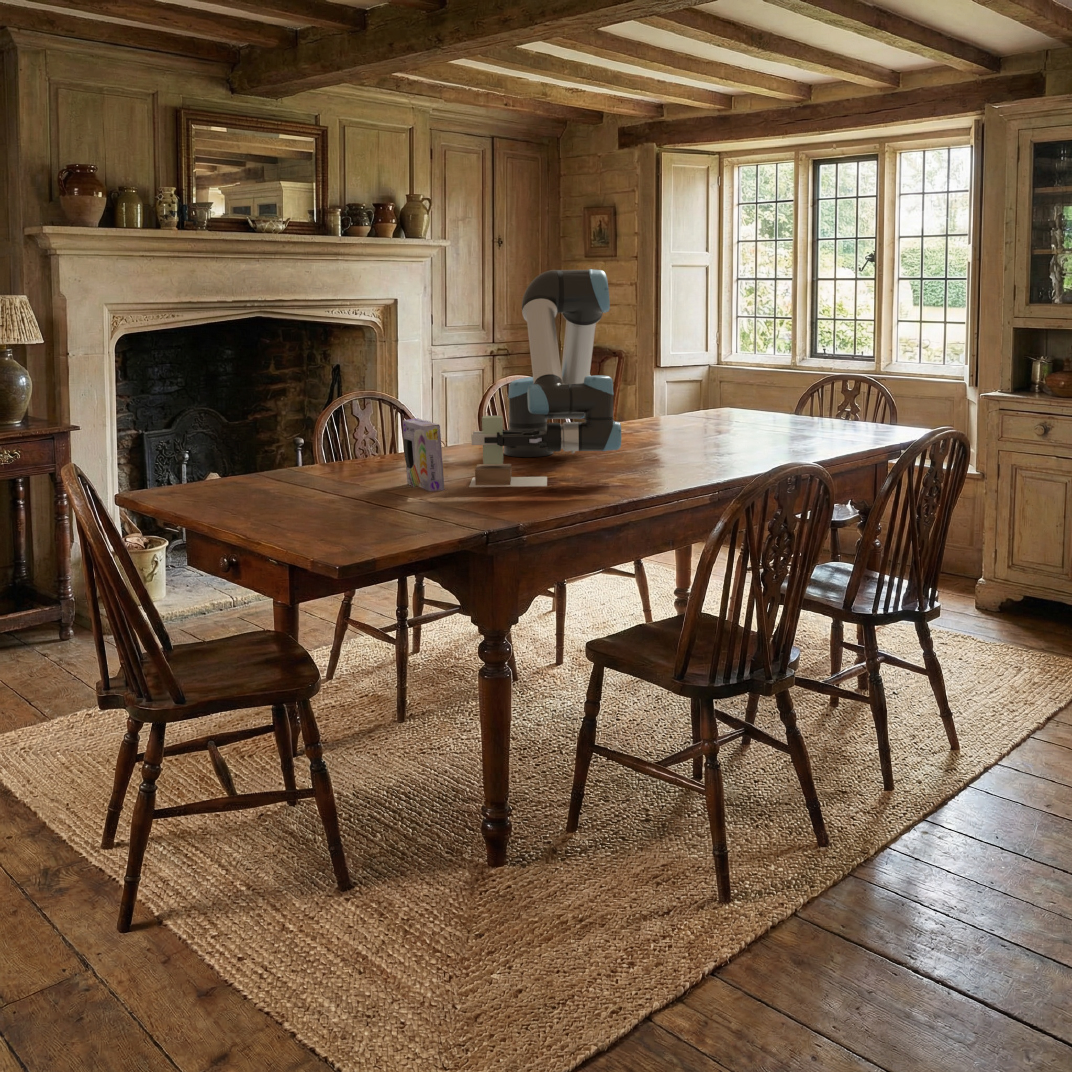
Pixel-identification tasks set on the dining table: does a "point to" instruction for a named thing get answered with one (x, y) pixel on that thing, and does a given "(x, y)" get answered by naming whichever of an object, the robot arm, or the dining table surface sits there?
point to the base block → (493, 474)
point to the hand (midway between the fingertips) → (472, 438)
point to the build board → (517, 482)
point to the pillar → (492, 452)
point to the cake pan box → (423, 454)
